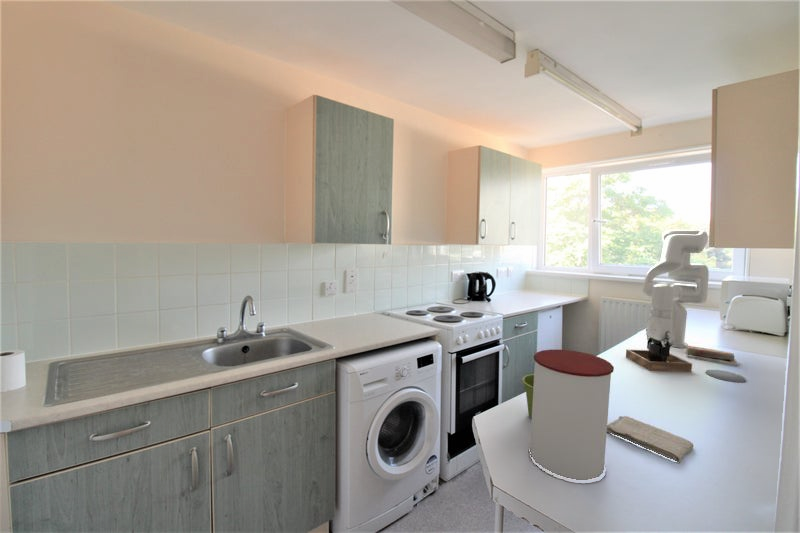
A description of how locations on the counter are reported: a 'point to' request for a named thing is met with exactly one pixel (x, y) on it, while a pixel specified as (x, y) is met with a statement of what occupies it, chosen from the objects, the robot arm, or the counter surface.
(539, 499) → the counter surface
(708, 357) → the packaged product
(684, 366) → the bin
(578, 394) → the container
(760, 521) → the counter surface
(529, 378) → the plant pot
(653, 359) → the supplement bottle
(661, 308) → the robot arm
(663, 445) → the washcloth
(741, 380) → the mat
